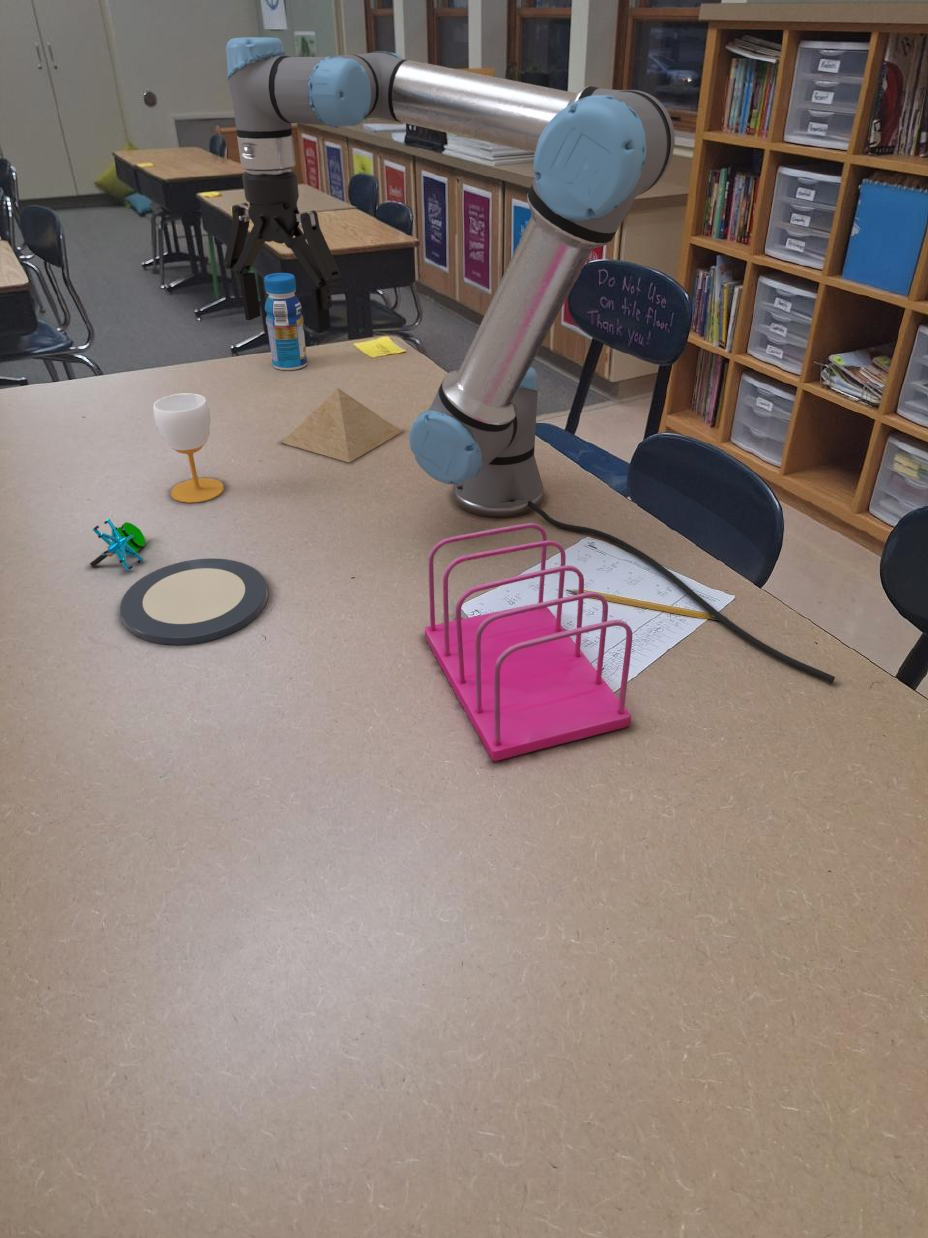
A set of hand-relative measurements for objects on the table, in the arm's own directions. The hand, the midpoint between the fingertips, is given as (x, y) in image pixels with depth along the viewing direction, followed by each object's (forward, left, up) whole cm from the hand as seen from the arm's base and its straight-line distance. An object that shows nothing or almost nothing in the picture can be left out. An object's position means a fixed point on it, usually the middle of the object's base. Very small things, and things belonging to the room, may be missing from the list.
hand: (287, 324), depth 133 cm
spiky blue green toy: (+12, +32, -29) cm, 44 cm away
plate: (-7, +35, -29) cm, 46 cm away
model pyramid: (+8, -22, -29) cm, 37 cm away
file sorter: (-55, +28, -29) cm, 68 cm away
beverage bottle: (+43, -50, -29) cm, 72 cm away
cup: (+17, +9, -29) cm, 35 cm away
